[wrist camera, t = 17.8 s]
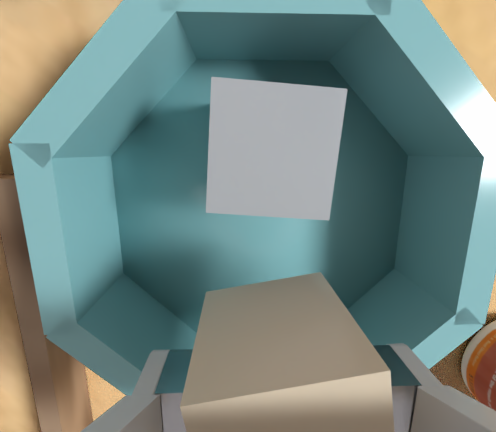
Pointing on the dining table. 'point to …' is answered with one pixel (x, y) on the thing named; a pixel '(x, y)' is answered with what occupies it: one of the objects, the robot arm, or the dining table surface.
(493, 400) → the pill bottle
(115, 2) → the dining table surface
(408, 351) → the robot arm
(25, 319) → the frame
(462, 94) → the bowl
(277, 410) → the beige matte cube
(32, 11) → the dining table surface
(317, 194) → the pale grey cube
